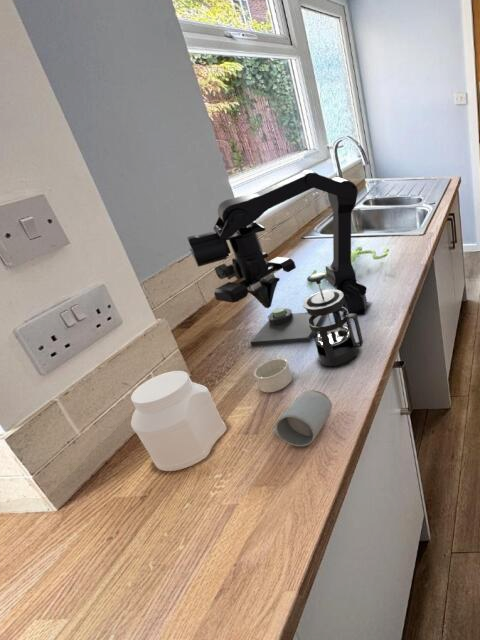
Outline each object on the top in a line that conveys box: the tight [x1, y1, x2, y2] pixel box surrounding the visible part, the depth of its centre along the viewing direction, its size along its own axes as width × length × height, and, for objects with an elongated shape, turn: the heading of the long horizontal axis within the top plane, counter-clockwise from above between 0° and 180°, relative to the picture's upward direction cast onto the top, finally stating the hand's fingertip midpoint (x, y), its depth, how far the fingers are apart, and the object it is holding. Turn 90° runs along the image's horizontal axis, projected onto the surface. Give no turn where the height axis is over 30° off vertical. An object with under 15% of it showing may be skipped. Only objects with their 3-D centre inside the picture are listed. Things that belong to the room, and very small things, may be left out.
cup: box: [253, 357, 293, 393], centre depth 93 cm, size 7×7×4 cm
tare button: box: [272, 306, 286, 318], centre depth 115 cm, size 3×3×2 cm
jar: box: [130, 370, 227, 472], centre depth 76 cm, size 12×10×15 cm
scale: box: [250, 308, 327, 347], centre depth 113 cm, size 15×14×3 cm
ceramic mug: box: [272, 389, 333, 447], centre depth 79 cm, size 11×8×8 cm
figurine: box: [311, 246, 390, 275], centre depth 144 cm, size 18×27×6 cm
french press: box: [302, 272, 364, 370], centre depth 97 cm, size 12×9×23 cm
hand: (268, 307), depth 103 cm, fingers closed
